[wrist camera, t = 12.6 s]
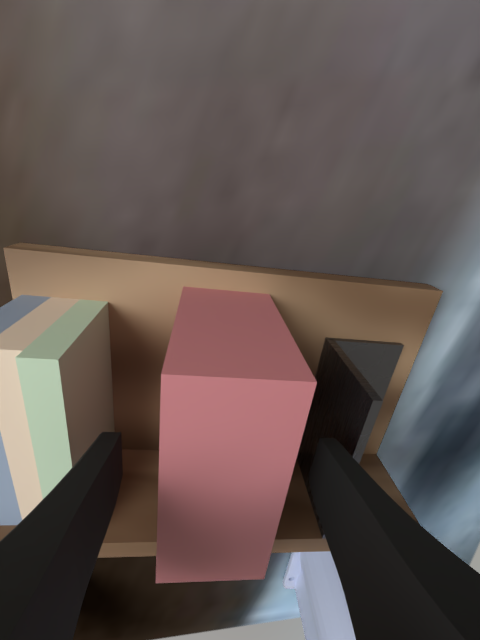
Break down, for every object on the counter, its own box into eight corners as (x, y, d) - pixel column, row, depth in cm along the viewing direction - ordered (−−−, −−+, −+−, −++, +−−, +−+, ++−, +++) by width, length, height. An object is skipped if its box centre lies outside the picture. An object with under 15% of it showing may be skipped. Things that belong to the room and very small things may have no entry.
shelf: (363, 450, 21) (419, 548, 15) (52, 444, 18) (-18, 560, 13) (427, 283, 16) (543, 337, 11) (20, 242, 14) (-115, 284, 8)
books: (115, 449, 17) (82, 543, 13) (47, 448, 17) (-12, 545, 12) (108, 301, 14) (57, 359, 9) (21, 294, 13) (-76, 352, 9)
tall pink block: (244, 438, 18) (263, 579, 12) (175, 436, 17) (155, 583, 11) (269, 294, 14) (317, 382, 8) (183, 286, 14) (161, 374, 7)
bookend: (358, 453, 19) (404, 537, 15) (295, 452, 19) (322, 538, 14) (400, 342, 16) (475, 405, 12) (325, 337, 16) (373, 400, 11)
